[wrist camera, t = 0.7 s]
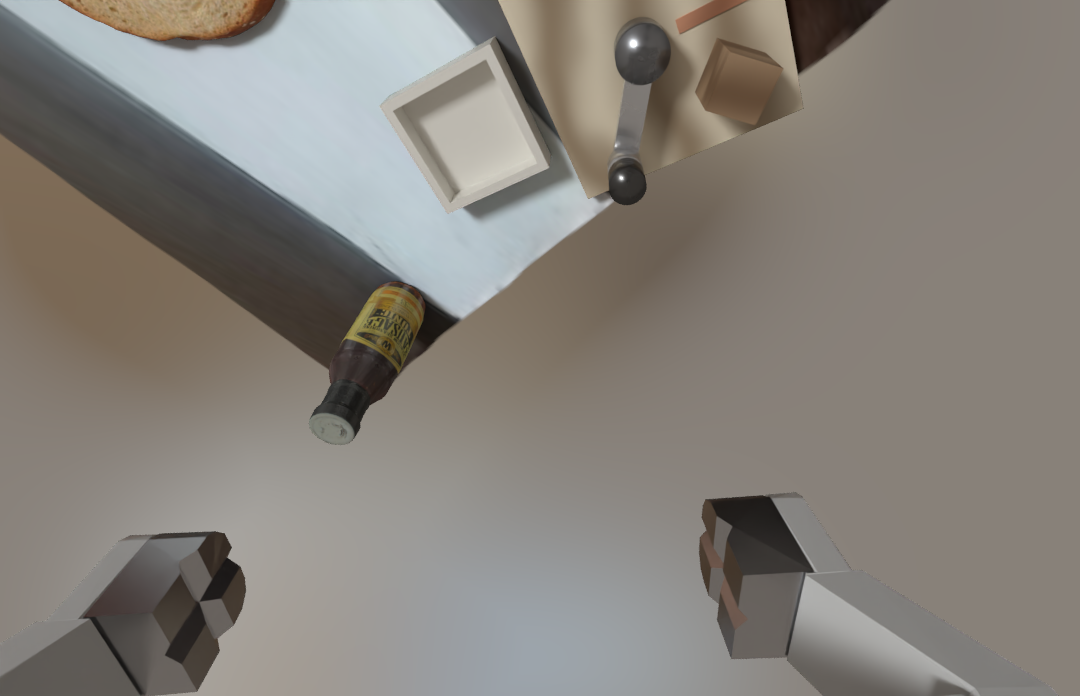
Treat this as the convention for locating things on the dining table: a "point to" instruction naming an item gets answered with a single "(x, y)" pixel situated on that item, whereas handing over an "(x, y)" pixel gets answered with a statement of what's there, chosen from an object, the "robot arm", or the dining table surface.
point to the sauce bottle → (368, 360)
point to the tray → (468, 127)
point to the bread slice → (176, 16)
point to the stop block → (737, 81)
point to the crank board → (673, 107)
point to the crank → (634, 102)
